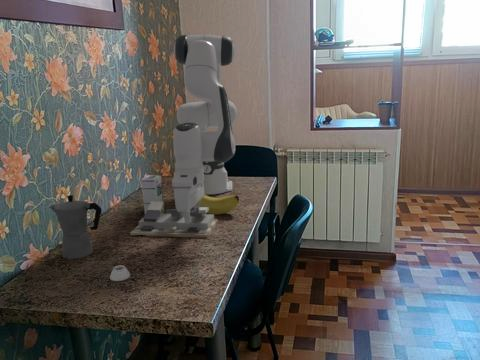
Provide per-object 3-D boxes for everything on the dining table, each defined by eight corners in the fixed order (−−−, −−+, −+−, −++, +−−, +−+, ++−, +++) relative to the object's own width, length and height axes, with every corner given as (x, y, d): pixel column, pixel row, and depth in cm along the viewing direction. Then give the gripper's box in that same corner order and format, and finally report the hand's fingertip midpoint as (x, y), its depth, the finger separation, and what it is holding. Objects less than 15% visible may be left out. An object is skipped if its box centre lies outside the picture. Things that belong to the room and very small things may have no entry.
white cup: (131, 273, 116) (112, 274, 115) (130, 262, 115) (111, 264, 115) (128, 281, 111) (108, 283, 111) (127, 271, 110) (107, 272, 110)
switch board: (147, 220, 157) (147, 214, 156) (217, 221, 152) (217, 216, 152) (130, 235, 142) (129, 229, 142) (207, 237, 138) (207, 231, 137)
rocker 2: (174, 216, 153) (174, 209, 153) (186, 216, 152) (186, 209, 152) (165, 217, 144) (165, 209, 144) (178, 217, 143) (178, 209, 143)
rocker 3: (196, 214, 152) (196, 207, 151) (208, 214, 151) (208, 207, 150) (189, 220, 143) (188, 212, 142) (202, 220, 142) (201, 213, 142)
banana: (241, 211, 162) (239, 159, 157) (238, 217, 156) (235, 162, 152) (184, 210, 167) (180, 159, 162) (178, 214, 161) (174, 162, 157)
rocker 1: (152, 206, 154) (151, 201, 153) (164, 207, 153) (163, 201, 152) (144, 224, 147) (143, 218, 146) (157, 224, 146) (155, 219, 145)
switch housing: (149, 218, 155) (148, 213, 155) (214, 219, 151) (213, 214, 151) (139, 227, 147) (138, 221, 146) (207, 229, 143) (207, 223, 142)
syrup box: (159, 216, 160) (155, 178, 157) (144, 216, 161) (140, 178, 158) (164, 211, 166) (161, 174, 162) (150, 211, 167) (146, 174, 163)
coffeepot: (48, 259, 126) (39, 200, 122) (64, 246, 135) (56, 191, 131) (100, 259, 125) (92, 199, 120) (112, 246, 134) (105, 190, 129)
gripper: (189, 169, 146) (192, 209, 149) (169, 182, 127) (172, 228, 129) (207, 169, 145) (209, 209, 148) (190, 182, 125) (193, 228, 128)
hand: (192, 218), depth 139 cm, fingers open, 8 cm apart
